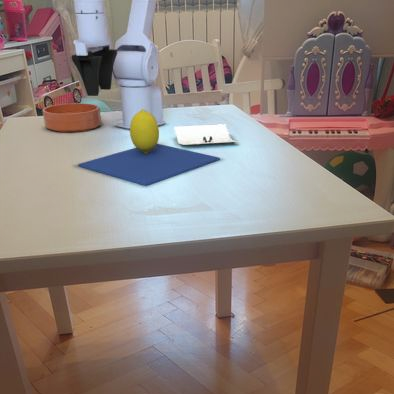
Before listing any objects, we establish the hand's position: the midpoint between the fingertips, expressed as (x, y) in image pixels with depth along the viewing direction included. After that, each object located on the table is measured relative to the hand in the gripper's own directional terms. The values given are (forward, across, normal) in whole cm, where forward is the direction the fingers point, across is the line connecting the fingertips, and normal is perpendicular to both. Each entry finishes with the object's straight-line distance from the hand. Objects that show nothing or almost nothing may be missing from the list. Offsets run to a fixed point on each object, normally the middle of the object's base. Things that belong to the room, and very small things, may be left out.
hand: (99, 92), depth 102 cm
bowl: (+9, -12, -12) cm, 19 cm away
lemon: (+9, +11, +12) cm, 19 cm away
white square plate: (+10, -2, +22) cm, 24 cm away
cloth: (+9, +15, +14) cm, 23 cm away
